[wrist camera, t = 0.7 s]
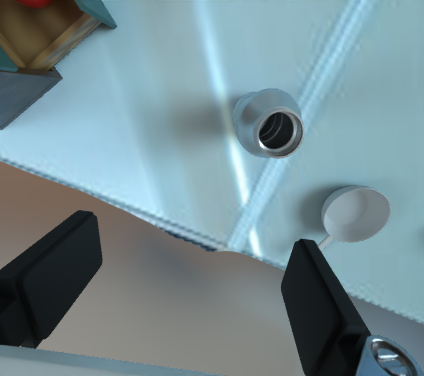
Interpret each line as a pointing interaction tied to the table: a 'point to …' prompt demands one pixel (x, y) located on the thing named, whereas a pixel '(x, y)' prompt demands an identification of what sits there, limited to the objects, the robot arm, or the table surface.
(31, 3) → the apple
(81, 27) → the drawer
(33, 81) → the cabinet
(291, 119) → the silver water bottle
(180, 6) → the table surface
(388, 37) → the table surface
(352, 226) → the small pan
